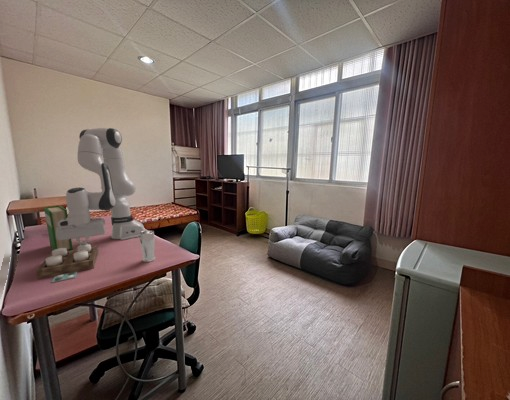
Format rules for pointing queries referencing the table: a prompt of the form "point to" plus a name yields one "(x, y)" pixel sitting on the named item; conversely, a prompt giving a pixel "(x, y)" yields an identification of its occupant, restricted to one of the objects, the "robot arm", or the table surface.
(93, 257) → the wooden compartment tray
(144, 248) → the beer glass
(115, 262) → the table surface
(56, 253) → the button
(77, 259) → the button
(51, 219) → the hardback book
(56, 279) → the card
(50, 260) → the button
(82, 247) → the button
